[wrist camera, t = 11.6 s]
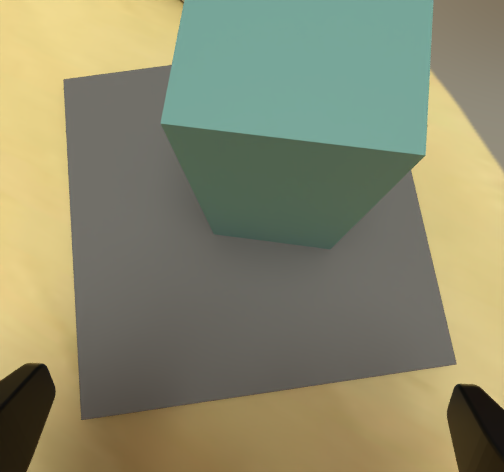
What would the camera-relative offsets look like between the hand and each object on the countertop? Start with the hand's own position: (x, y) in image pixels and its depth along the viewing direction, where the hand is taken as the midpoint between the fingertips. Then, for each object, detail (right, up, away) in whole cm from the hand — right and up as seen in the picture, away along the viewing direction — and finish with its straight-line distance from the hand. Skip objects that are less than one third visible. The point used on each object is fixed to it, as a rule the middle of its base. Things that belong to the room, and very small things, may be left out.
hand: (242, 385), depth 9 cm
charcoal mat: (0, +4, +13) cm, 14 cm away
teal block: (+2, +6, +13) cm, 14 cm away
